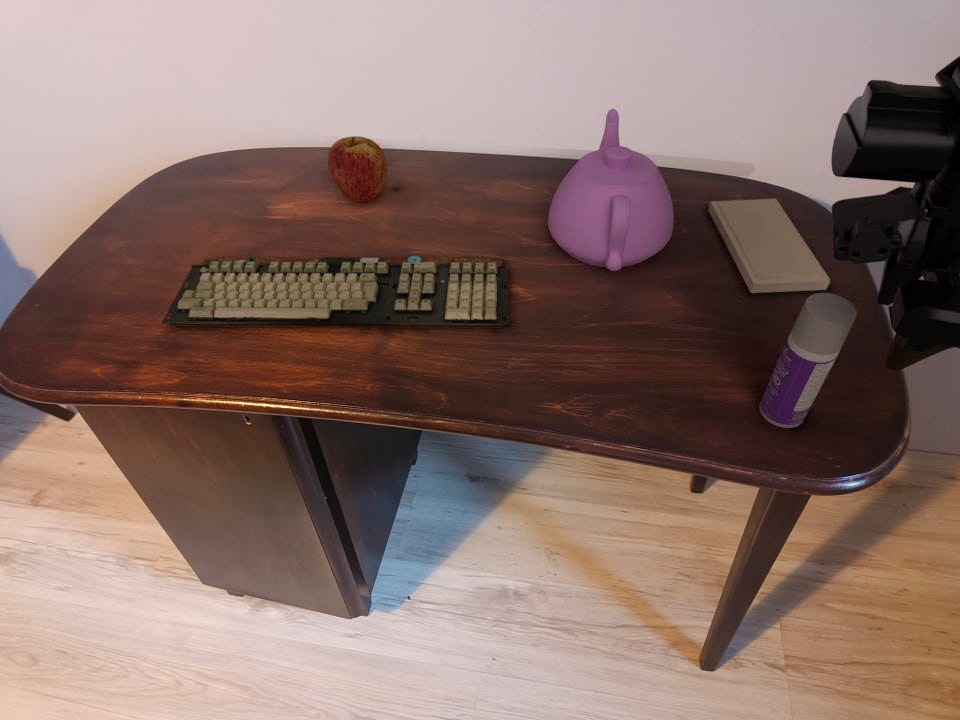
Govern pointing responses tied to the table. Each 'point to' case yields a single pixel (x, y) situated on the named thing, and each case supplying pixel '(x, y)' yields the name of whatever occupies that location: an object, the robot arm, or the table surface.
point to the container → (807, 358)
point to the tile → (767, 246)
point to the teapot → (612, 206)
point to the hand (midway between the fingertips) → (886, 334)
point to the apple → (357, 167)
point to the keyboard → (343, 293)
